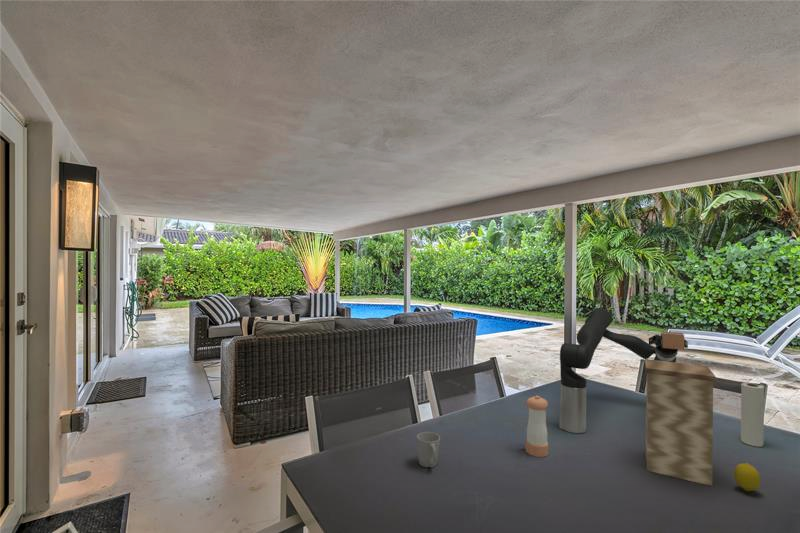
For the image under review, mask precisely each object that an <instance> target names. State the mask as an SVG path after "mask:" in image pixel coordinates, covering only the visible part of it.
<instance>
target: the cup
mask: <svg viewBox="0 0 800 533" xmlns="http://www.w3.org/2000/svg"><path fill="white" fill-rule="evenodd" d="M415 437H416V446H417V455H418V456H417V457H418V463H419V465H420V466H421V467H423V468H428V467H430V468H434V467H436V466H437V464H438V458H439V452H440V444H441V443H440V442H441V436H440V435H439V434H438V433H435V432H432V431H423V432H420V433H418V434H417V435H416V436H415Z"/></svg>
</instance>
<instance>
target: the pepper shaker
mask: <svg viewBox="0 0 800 533" xmlns="http://www.w3.org/2000/svg"><path fill="white" fill-rule="evenodd" d="M526 406H527V408H528V421H527V426H526V439H525V452H526V454H528V455H529V456H532V457H537V458H543V457H547V456H548V455H549V442H548V428H547V422H546V421H547V414H546V412H547V410H548V408H549V403H548V401H547V399H545V398H542V397H540V396H539V395H535V396H532V397H528V399H527V400H526Z"/></svg>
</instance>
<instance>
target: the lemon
mask: <svg viewBox="0 0 800 533" xmlns="http://www.w3.org/2000/svg"><path fill="white" fill-rule="evenodd" d="M733 475H734V480H735V482H736V483H737V485H738V486H739V487H740V488H741V489H743V490H744V491H745V492H749V493H750V492H752V491H756V490H758V489H759V488H760V485H761V476H760V473H759V471H758V470H757V468H755V467H754V466H753V465H751V464H750V463H748V462H744V463H739V464H737V465H736V466H735V468H734V472H733Z"/></svg>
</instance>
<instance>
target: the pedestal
mask: <svg viewBox="0 0 800 533" xmlns="http://www.w3.org/2000/svg"><path fill="white" fill-rule="evenodd" d="M644 366H645V374H646V380H645V381H646V396H645V397H646V398H645V404H646V405H645V414H646V415H645V460H646V470H647V471H648V472H652V473H657V474H660V475H665V476H667V477H673V478H676V479H681V480H686V481H688V482H689V481H690V482H694V483H697V484H702V485H706V486H710V487H713V459H714V458H713V456H714V455H713V454H714V450H713V448H714V445H713V444H714V441H713V439H714V437H713V436H714V431H713V430H714V383H716V382H717V380H716V378H717V377H716V375H715V374H714V373H713V371H712V370H711V369H710V367H709V366H708V365H701V364H694V363H684V362H683V363H682V362H677V361H676V362H667V361H658V360H654V359H649V358H648V359H644Z"/></svg>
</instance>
